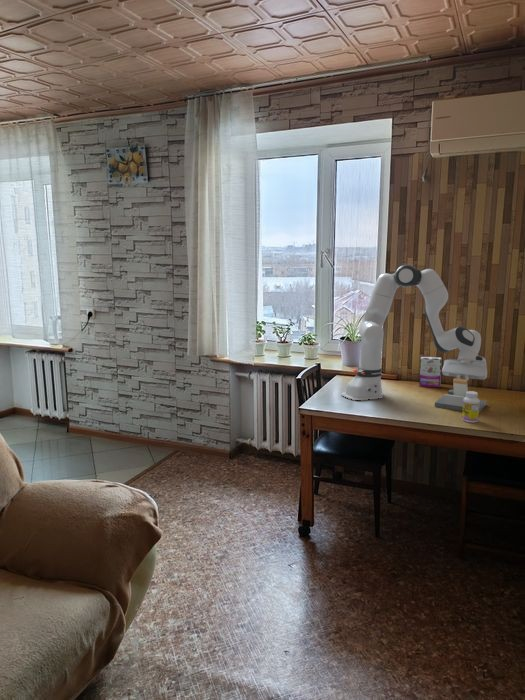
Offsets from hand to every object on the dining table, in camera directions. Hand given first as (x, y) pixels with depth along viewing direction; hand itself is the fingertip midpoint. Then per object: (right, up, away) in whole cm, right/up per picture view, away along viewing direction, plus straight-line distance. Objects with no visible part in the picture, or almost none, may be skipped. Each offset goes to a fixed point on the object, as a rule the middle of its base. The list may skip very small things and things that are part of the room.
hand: (461, 384), depth 237 cm
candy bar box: (-1, -4, +41) cm, 41 cm away
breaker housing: (+1, -11, +4) cm, 11 cm away
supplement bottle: (-3, -15, -18) cm, 24 cm away
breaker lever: (+1, -7, +3) cm, 8 cm away
